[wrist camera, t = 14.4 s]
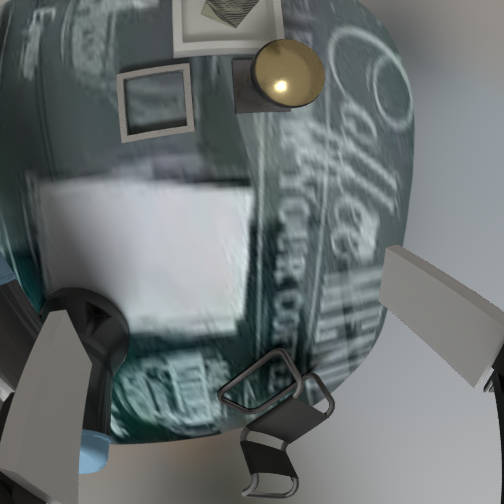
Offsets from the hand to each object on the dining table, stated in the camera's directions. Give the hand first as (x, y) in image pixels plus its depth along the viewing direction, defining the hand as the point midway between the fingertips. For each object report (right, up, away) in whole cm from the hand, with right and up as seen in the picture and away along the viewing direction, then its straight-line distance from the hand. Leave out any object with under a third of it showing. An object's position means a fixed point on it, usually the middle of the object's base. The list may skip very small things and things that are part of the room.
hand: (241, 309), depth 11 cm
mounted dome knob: (+2, +23, +21) cm, 31 cm away
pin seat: (-11, +20, +18) cm, 29 cm away
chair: (+3, -23, +41) cm, 47 cm away
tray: (-3, +32, +15) cm, 36 cm away
